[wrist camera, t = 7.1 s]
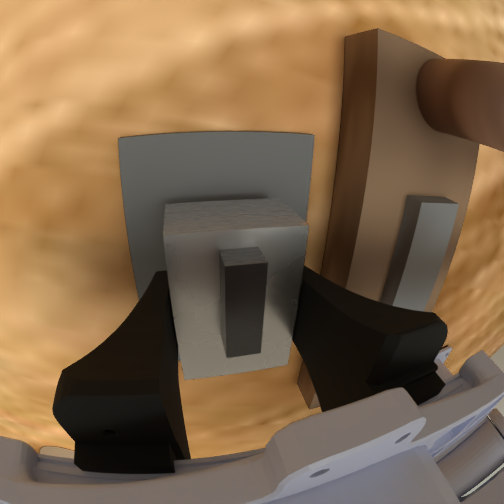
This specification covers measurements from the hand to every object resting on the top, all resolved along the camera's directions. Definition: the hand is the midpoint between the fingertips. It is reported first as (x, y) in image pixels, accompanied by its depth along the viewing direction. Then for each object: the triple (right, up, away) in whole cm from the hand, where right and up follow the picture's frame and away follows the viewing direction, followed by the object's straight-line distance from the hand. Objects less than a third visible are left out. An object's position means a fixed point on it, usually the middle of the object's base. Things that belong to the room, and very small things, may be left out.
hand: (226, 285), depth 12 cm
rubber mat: (-1, +1, +2) cm, 2 cm away
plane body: (+9, +2, +4) cm, 10 cm away
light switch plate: (0, 0, 0) cm, 1 cm away
